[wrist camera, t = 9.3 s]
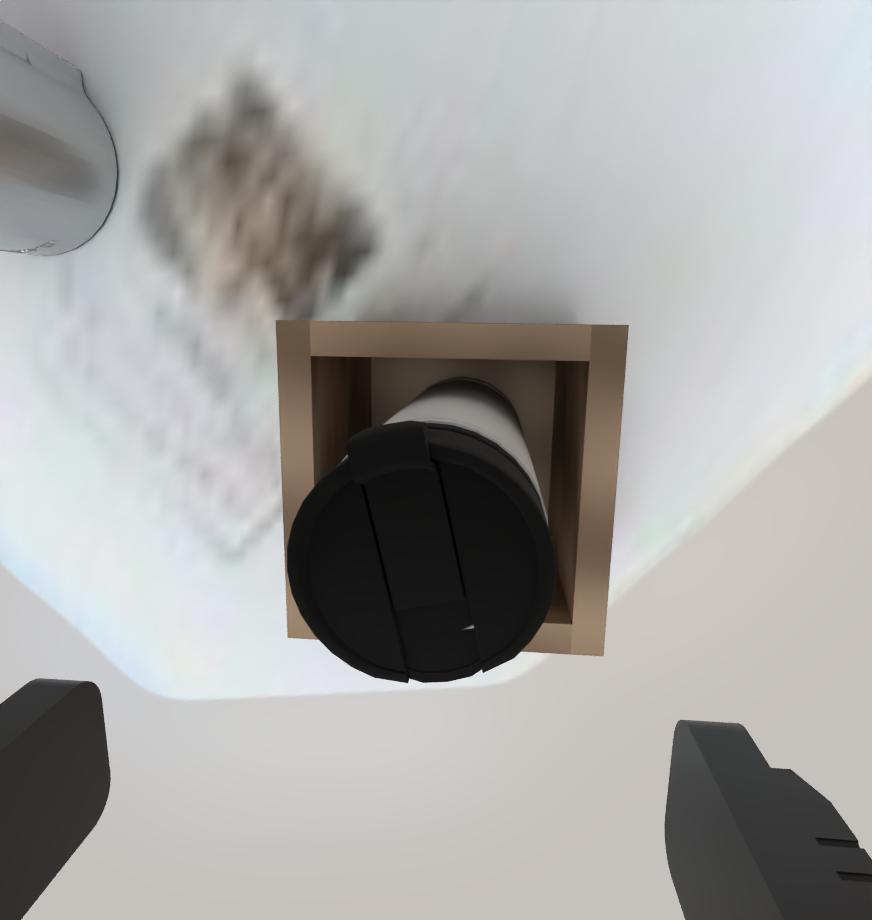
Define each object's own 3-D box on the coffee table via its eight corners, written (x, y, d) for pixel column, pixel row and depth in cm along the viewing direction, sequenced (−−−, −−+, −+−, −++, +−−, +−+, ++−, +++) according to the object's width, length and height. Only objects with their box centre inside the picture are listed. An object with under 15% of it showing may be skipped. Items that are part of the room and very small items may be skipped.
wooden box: (352, 324, 33) (275, 320, 22) (579, 327, 32) (628, 325, 21) (355, 537, 36) (287, 637, 24) (566, 546, 35) (603, 656, 23)
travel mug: (508, 359, 32) (533, 399, 12) (530, 482, 33) (583, 695, 14) (391, 382, 33) (240, 455, 13) (416, 501, 34) (312, 730, 14)
